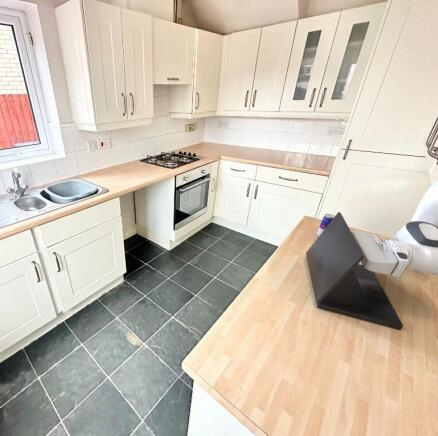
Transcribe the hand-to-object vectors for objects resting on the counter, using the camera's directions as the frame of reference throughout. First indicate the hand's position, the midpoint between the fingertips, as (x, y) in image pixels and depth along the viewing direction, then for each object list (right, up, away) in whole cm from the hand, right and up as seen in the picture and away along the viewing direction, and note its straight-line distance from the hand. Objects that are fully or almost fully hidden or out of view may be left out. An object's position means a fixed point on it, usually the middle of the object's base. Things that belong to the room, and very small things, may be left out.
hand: (340, 244), depth 84 cm
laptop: (+6, -17, +6) cm, 19 cm away
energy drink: (+19, 0, +36) cm, 40 cm away
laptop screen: (-1, -4, +3) cm, 5 cm away
